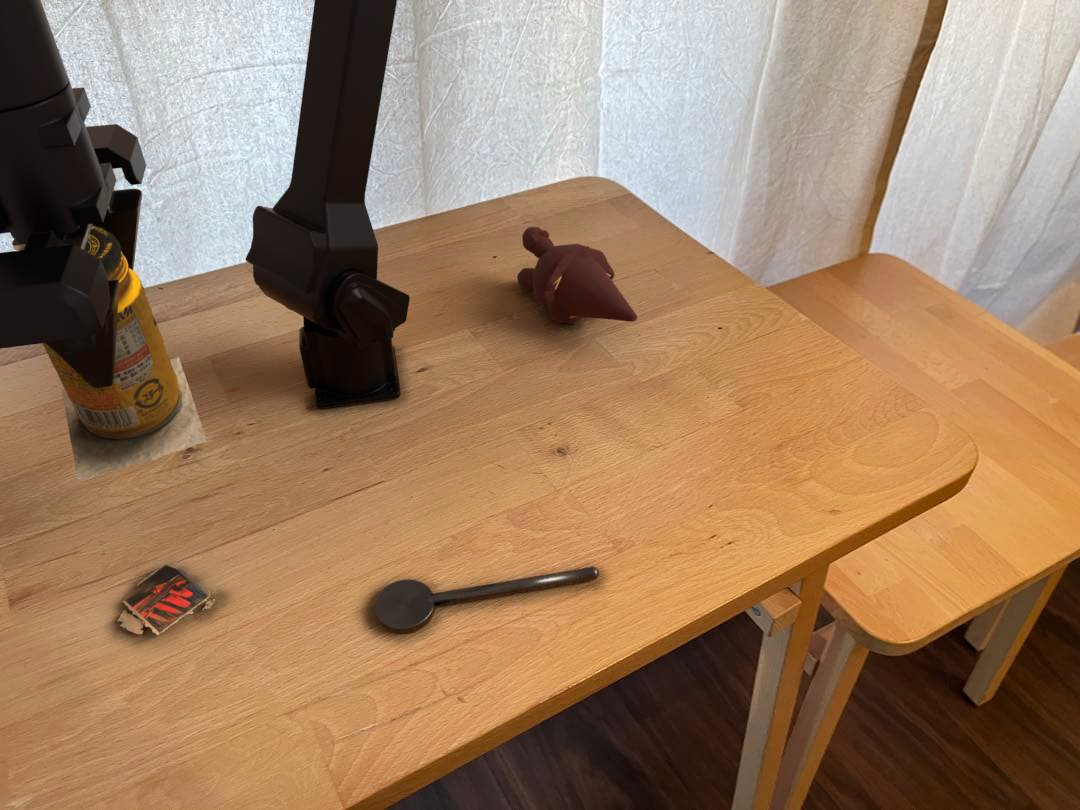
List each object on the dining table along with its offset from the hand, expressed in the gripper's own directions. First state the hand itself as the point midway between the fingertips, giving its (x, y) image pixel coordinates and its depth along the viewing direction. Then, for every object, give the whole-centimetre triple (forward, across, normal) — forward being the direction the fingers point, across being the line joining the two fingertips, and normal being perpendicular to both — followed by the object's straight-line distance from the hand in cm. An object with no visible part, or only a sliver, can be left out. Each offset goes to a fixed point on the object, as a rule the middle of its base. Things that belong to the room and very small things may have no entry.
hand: (111, 351), depth 52 cm
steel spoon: (+13, +13, +20) cm, 27 cm away
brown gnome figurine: (+13, -15, +32) cm, 38 cm away
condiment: (+5, 0, 0) cm, 5 cm away
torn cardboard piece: (+13, +9, 0) cm, 16 cm away
